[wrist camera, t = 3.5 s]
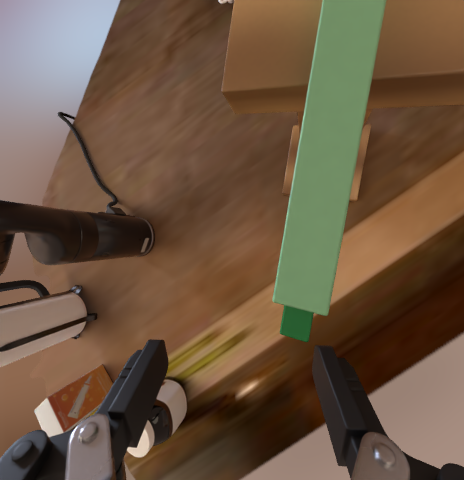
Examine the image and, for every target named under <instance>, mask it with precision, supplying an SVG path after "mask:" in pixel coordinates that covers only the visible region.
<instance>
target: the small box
mask: <svg viewBox="0 0 464 480" xmlns="http://www.w3.org/2000/svg"><path fill="white" fill-rule="evenodd" d="M112 385H113V383H112V381H111V379H110V377H109V376H108V374H107V372H106V370H105V369H104V366H103V365H100V366H99V367H97V368H95V369H94V370H92V371H90V372H88V373H87V374H85V375H84V376H82V377H80V378H79V379H77V380H75V381H74V382H72V383H70V384H69V385H67V386H65V387H64V388H62V389H60V390H59V391H57V392H55V393H54V394H52V395H50V396H49V397H47V398H46V399H45V400H44V401H43V402H42V403H41V404H40V405H39V406H38V407H37V408H36V409H35V410H34V412H35V414H36V416H37V419H38V421H39V423H40V426H41V428H42V430H43V431H45V432H46V433H47V435H48V437H51V436H55V435H58V434H61V433H65V432H68V431H69V430H70V429H72V428H73V427H74V426H76V425H77V424H78V423H79V422H81V421H82V420H83V419H84V418H86V417H87V416H88V415H89V414H91V413H92V412H93V411H94V410H96V409H97V408H98V407H99V406H100V405H101V403H102V402H103V400H104V398H105V397H106V395H107V393H108V392H109V390H110V389H111V387H112Z"/></svg>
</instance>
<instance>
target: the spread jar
mask: <svg viewBox="0 0 464 480" xmlns="http://www.w3.org/2000/svg"><path fill="white" fill-rule="evenodd" d="M186 411H187V396H186V392H185V389H184V387H183V386H182V384H181V383H180V382H179V381H177V380H175V379H172V378H166V379H164V381H163V383H162V386H161V388H160V391H159V393H158V396H157V398H156V401H155V403H154V406H153V408H152V411H151V413H150V416H149V418H148V421H147V423H146V426H145V428H144V431H143V433H142V436H141V438H140V441H139V443H138V446H137V448H132V447H128V448H127V451H128V452H129V453H130V454H132V455H133V456H135V457H143V456H145V455H146V454H147V453H148V451H149V450H150V449H151V447H152V446H155V445H158V444H161V443H163V442H164V441H166V440H167V439H169V438H170V437H171V436H172V434H173V433H174V432H175V431H176V429H177V428H178V426H179V425H180V423H181V422H182V420H183V419H184V417H185V415H186Z"/></svg>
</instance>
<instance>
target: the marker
mask: <svg viewBox="0 0 464 480" xmlns="http://www.w3.org/2000/svg"><path fill="white" fill-rule="evenodd" d="M385 5H386V0H323V1H322V7H321V13H320V19H319V25H318V31H317V37H316V43H315V49H314V55H313V61H312V67H311V73H310V79H309V85H308V91H307V97H306V103H305V109H304V115H303V121H302V127H301V133H300V139H299V145H298V151H297V157H296V163H295V169H294V175H293V181H292V187H291V193H290V199H289V205H288V211H287V217H286V223H285V229H284V235H283V241H282V247H281V253H280V259H279V265H278V271H277V277H276V283H275V289H274V295H273V302H275V303H278V304H282V305H284V311H283V316H282V322H281V328H280V334H282V335H285V336H288V337H292V338H295V339H298V340H301V341H304V342H308V341H309V336H310V330H311V325H312V319H313V314H314V313H316V314H320V315H324V316H327V315H328V312H329V307H330V301H331V296H332V291H333V285H334V280H335V274H336V269H337V264H338V258H339V253H340V247H341V242H342V237H343V231H344V226H345V221H346V215H347V210H348V204H349V199H350V194H351V188H352V183H353V177H354V172H355V167H356V161H357V156H358V151H359V145H360V140H361V134H362V129H363V124H364V118H365V113H366V108H367V102H368V97H369V91H370V86H371V81H372V75H373V70H374V64H375V59H376V54H377V48H378V43H379V38H380V32H381V27H382V21H383V16H384V11H385Z"/></svg>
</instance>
